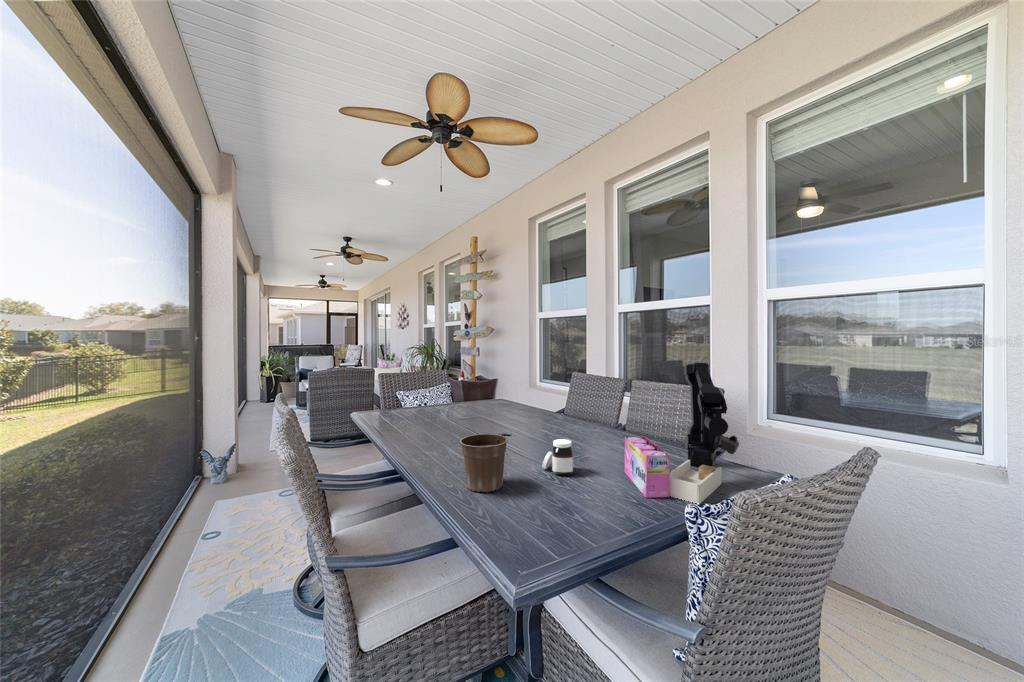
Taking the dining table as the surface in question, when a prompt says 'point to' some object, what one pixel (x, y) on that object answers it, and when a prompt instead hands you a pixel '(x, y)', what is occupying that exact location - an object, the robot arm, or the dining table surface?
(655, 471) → the gum box
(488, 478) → the plant pot
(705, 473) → the oak block
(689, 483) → the channel
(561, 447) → the spread jar
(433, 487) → the dining table surface
